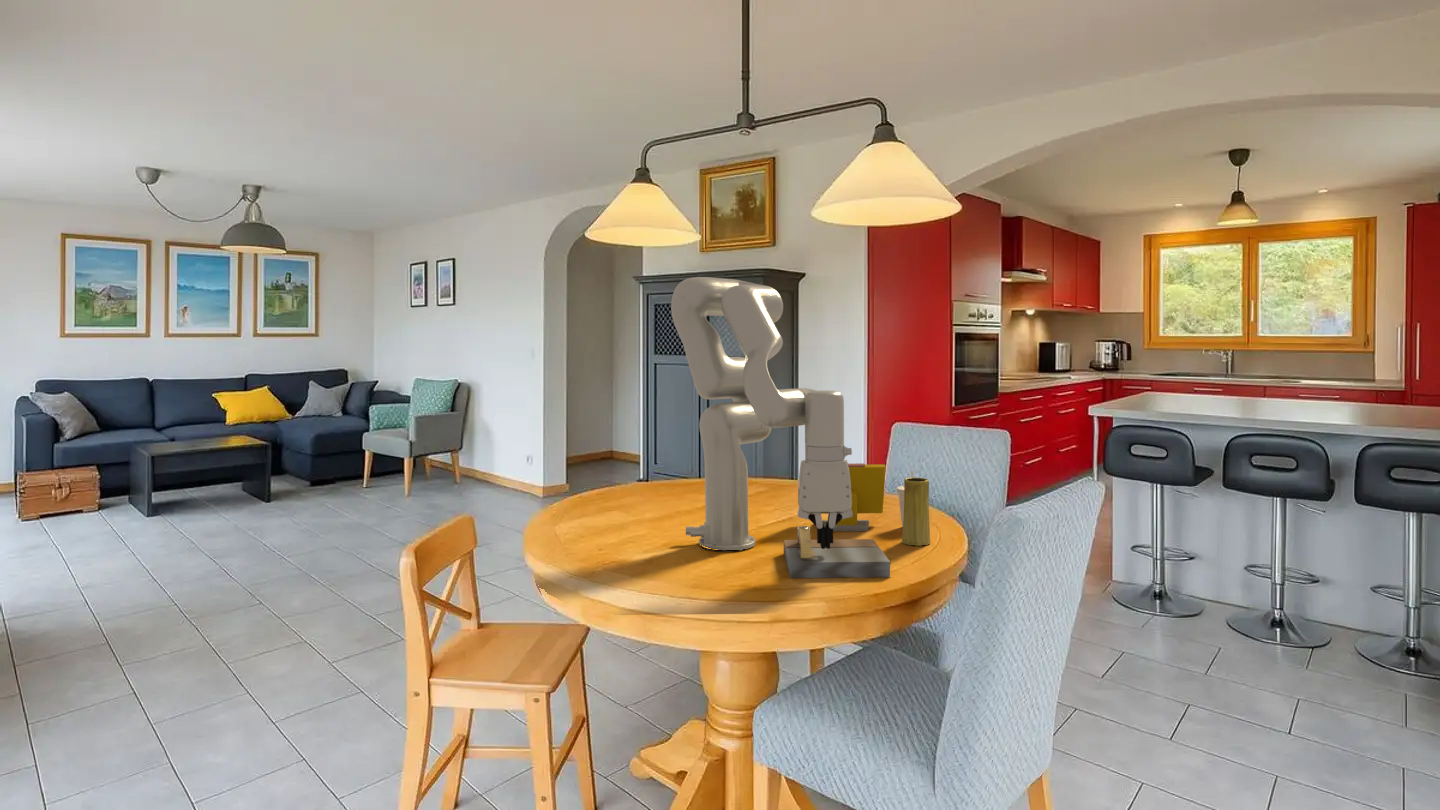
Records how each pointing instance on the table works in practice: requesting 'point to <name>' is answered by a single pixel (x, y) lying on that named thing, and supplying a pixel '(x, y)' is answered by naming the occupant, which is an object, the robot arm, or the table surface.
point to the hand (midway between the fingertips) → (825, 546)
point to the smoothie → (902, 498)
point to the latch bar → (804, 541)
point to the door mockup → (837, 559)
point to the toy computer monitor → (863, 495)
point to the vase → (916, 512)
